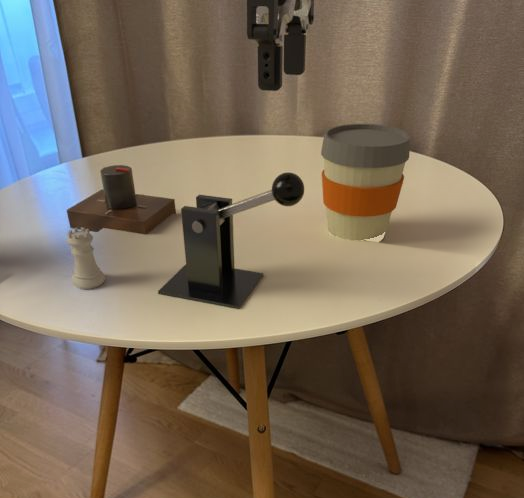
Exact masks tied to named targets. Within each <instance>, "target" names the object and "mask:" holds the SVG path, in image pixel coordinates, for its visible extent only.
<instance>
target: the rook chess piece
mask: <svg viewBox="0 0 524 498" xmlns="http://www.w3.org/2000/svg"><path fill="white" fill-rule="evenodd" d="M67 232H68V233H67V238H66V240H65V242H66V243H67V244H69V246H71V249H70V253H71V254H72V257H73V263H74V270H73V272H72V276H71V284H72V285H73V286H74V287H76V288H77V289H80V290H91V289H92V290H93V289H95V288H98V287H100V286H101V285H102V284H103V283H104V282H105V280H106V275H105V272H103V271H102V270H101V268H100V267H99V266H98V264H97V261H96V259H95V255H94V248H95V247H93V245H92V243H93V240H94V236H93V235H92V234H91V233H90V231H89V230H88V229H85V228H82V227H81V229H80V230H79V229H77V228H73V230H72V229H69V230H67Z"/></svg>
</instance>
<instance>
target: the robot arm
mask: <svg viewBox="0 0 524 498" xmlns="http://www.w3.org/2000/svg"><path fill="white" fill-rule="evenodd" d="M314 12H315V0H246V36H247V39H248V40H253V43H254V45H257V85H258V88H259V90H260V91H267V92H268V91H271V92H277V91H279V90H280V89H281V88H282V87H283V72H284V74H285V75H289V76H300V75H303V74H304V73H305V71H306V51H307V34H309V30H310V28H311V27H310V25H311V26H312V25H313V23H314V21H315V14H314Z"/></svg>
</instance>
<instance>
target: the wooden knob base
mask: <svg viewBox="0 0 524 498" xmlns="http://www.w3.org/2000/svg"><path fill="white" fill-rule="evenodd" d="M135 195H136V202H137V203H136V205H135V206H133V207H130V208H127V209H111V208H108V207H107V206H106V201H105V195H104V190H103V188H102V189H100V190H98V191H97V192H95V193H93V194H91V195H90V196H88V197H86V198H84V199H83V200H81V201H79V202H78V203H76V204H74V205H73V206H71V207H70V208H67V209H66V214H67V219H68V224H69V227H70V228H71V229H74V228H77V229H78V230H81V227H82V228H85V229H88V230H89V232H95V233H96V232H97V233H98V232H100V231H101V230H102V229H107V230H114V231H120V232H128V233H133V234H140V235H148V234H149V233H150V232H151V231H153V230H154V229H156V227H157V226H159V225H160V224H162V223H163V222H164V221H166V220H167V219H168V218H169V217H171V216H172V215H173V214H174V215H176V214H177V210H176V200H175V198H168V197H163V196H162V197H161V196H154V195H147V194H141V193H140V194H139V193H135Z"/></svg>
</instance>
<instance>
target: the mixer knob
mask: <svg viewBox="0 0 524 498" xmlns="http://www.w3.org/2000/svg"><path fill="white" fill-rule="evenodd" d="M99 173H100V178H101V183H102V189H103V190H104V195H105V201H106V206H107V207H108V208H111V209H127V208H130V207H133V206H135V205H136V203H137V202H136V195H135V194H136V188H135V182H134V181H135V180H134V175H133V169H132V167H130V166H128V165H123V164H116V165H115V164H114V165H108V166H105V167H103V168H101V169H100V171H99Z"/></svg>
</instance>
